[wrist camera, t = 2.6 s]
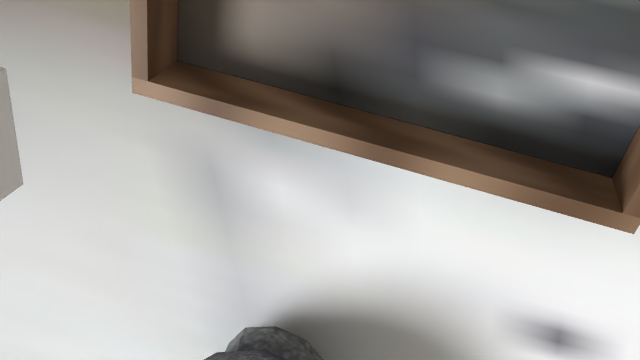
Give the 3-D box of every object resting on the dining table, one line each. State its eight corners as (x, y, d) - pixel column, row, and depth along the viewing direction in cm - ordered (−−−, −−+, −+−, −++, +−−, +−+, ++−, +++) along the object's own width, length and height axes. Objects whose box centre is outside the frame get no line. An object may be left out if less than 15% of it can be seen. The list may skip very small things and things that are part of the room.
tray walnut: (162, 71, 25) (132, 92, 23) (163, -194, 20) (124, -197, 18) (622, 197, 23) (633, 234, 21) (772, -70, 17) (809, -56, 15)
